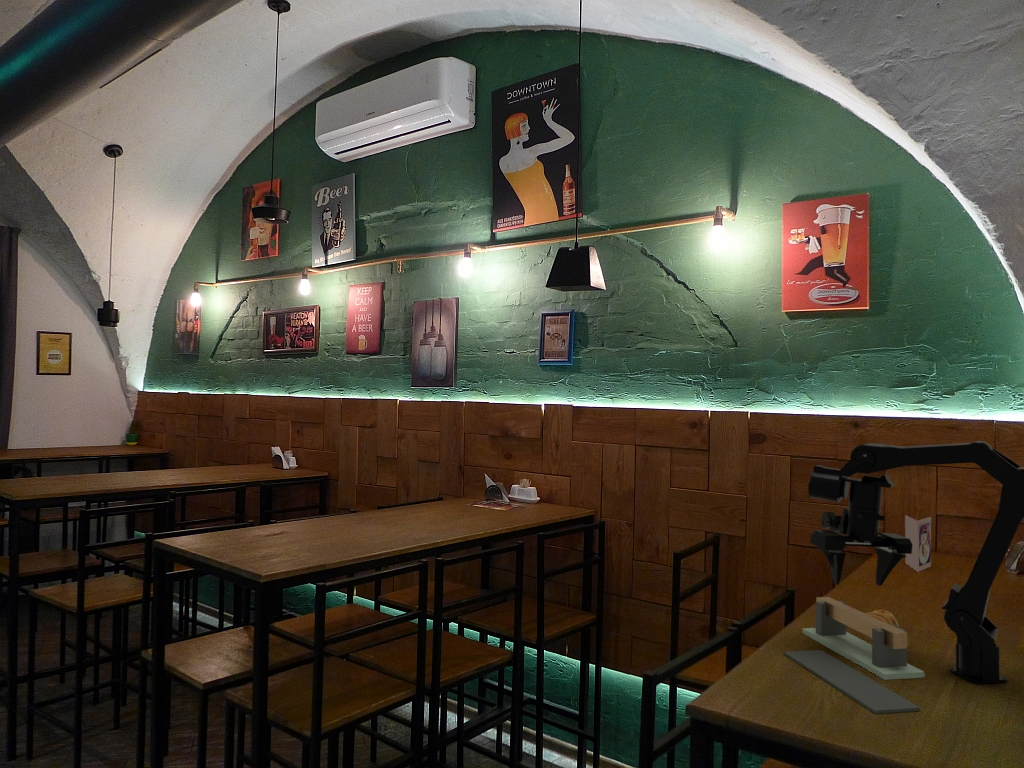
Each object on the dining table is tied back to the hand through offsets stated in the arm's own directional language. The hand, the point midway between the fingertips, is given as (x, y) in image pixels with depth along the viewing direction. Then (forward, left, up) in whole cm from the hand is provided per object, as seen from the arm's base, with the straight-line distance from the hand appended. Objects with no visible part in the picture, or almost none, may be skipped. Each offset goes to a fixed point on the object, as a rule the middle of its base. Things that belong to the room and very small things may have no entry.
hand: (857, 584), depth 143 cm
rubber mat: (-13, +11, -13) cm, 22 cm away
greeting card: (+65, -65, -14) cm, 93 cm away
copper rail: (-1, 0, -8) cm, 8 cm away
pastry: (+13, -14, -14) cm, 23 cm away
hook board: (-1, 0, -13) cm, 13 cm away
